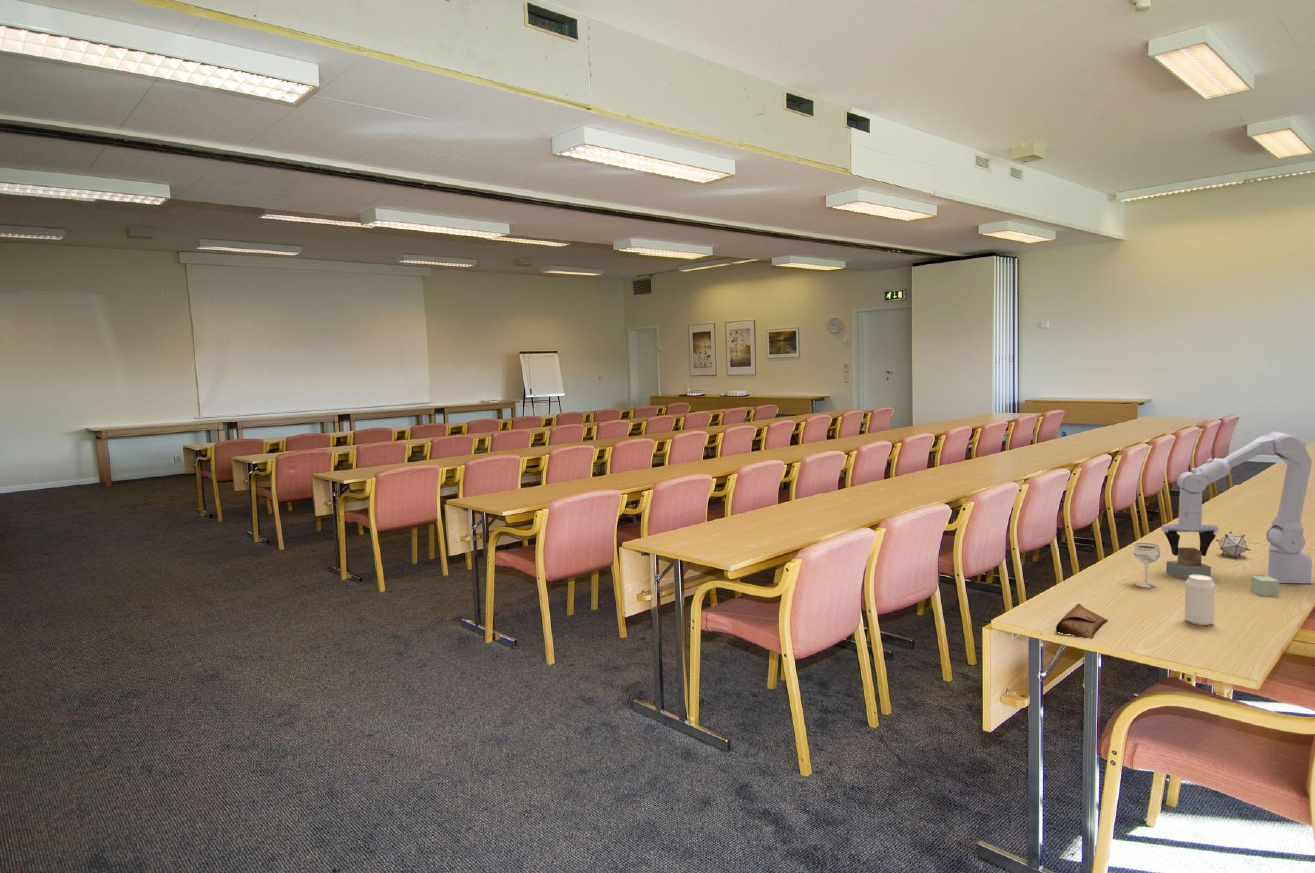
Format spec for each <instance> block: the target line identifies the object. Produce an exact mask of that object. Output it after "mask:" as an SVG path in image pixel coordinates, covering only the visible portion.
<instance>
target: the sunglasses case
mask: <svg viewBox="0 0 1315 873" xmlns="http://www.w3.org/2000/svg"><path fill="white" fill-rule="evenodd" d="M1108 621H1109V619H1107V618H1105V617H1104V616H1101V615H1100V614H1097V613H1096V612H1094V611H1091V610H1089V609H1087V608H1085V607H1084V606H1083V605H1082V604H1081V603H1078V604H1076V605H1075V606H1074V607H1072V609H1070V610H1069V611H1068V612H1067V613H1066V614H1065V615H1064V616H1063V617H1062V618H1061V619H1060V620H1059V621H1058V623H1057V625H1056V627H1055V631H1056V633H1057V632H1060V633H1063V634H1071V635H1074V636H1077V637H1076V638H1078V637H1083V638H1082V639H1084V638H1090V639H1092V638H1094V635H1095V634H1096V633H1097V632H1096V631H1098V630H1099V629H1100V628H1101V627H1103V625H1104V624H1106V623H1107V622H1108ZM1095 632H1096V633H1095ZM1090 639H1089V640H1090ZM1092 640H1093V639H1092Z"/></svg>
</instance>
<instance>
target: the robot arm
mask: <svg viewBox="0 0 1315 873" xmlns="http://www.w3.org/2000/svg"><path fill="white" fill-rule="evenodd" d="M1275 455H1276V456H1277V457H1279V458H1280V459H1281V460H1282V462H1284V463H1285V464H1286V471H1285V476H1284V480H1283V486H1282V492H1281V496H1280V502H1279V504H1278V505H1279V506H1278V511H1277V516H1276V517H1275V518H1273V520H1271V526H1270V527H1269V528H1268V529H1267V530H1266V534H1265V537H1266V540H1267V542H1268V543H1269V544H1270V545H1269V548H1268V564H1267V565H1268V566H1267V567H1268V568H1267V573H1261V574H1260V576H1270V577H1272V578H1274V579H1276V580H1278V581H1279V584H1313V581H1312V568H1313V566H1312V565H1313V564H1312V563H1313V561H1312V560H1313V559H1312V556H1311V555H1310V553H1309V552H1308V551H1306V550H1303V549H1304V548H1305V545H1306V539H1305V537H1304V526H1303V525H1302V522H1301V519H1302V515H1303V514H1302V513H1303V508H1304V505H1305V504H1304V503H1305V498H1306V494H1307V489H1308V484H1309V479H1310V474H1311V469H1312V462H1313V460H1312V459H1311V457H1310V455H1309V453H1308V450H1307V448H1306V443H1305V442H1304V441H1303V440H1301V439H1300V438H1299V437H1298V436H1296V435H1294V434H1290V433H1284V432H1281V431H1277V430H1275V431H1270V432H1268V433H1266V434H1265V435H1262V436H1259V437H1257V438H1256V439H1254V440H1253V441H1251V442H1249V443H1248V444H1245V445H1244V446H1243V447H1241V448H1239V449H1238V450H1236V451H1234V452H1232V453H1230V454H1229V455H1227V456H1225V457H1223V458H1220V457H1219V458H1218V457H1215V458H1209V459H1207V460H1206V462H1205V463H1204V464H1202V465H1200V466H1198V467H1197V468H1196V467H1193V468H1191V471H1185V472H1183V473H1181V474H1180V475H1179V477H1178V478H1177V480H1176V484H1177V486H1178V487H1179V496H1178V498H1179V499H1178V504H1179V505H1178V523H1174V524H1162V525H1161V531H1162V532H1163V533H1164V535H1165V537H1166V539H1167V540H1168V543H1169V546H1170V550H1171V554H1172V555H1173V556H1174V557H1175V556H1176V557H1178V548H1179V541H1180V537H1181V535H1179V533H1198V536H1199V550H1200V551H1201V552H1202V557H1206V555H1207V553H1208V551H1209V548H1210V545H1211V544H1212V542H1213V541H1214V540H1215V538H1216V537H1217V536H1216V535H1217V534H1218V533H1219V526H1218V525H1215V524H1202V519H1203V518H1202V515H1203V513H1202V511H1203V491H1205V490H1206V487H1207V486H1209V485H1210V484H1213V483H1214V482H1216V481H1218V480H1220V479H1222V478H1224V477H1226V476H1227V475H1229V474H1230V472H1231V469H1232V468H1234V467H1236V466H1239V465H1240V464H1243V463H1245V462H1247V461H1249V460H1251V459H1253V458H1255V457H1257V456H1275ZM1216 533H1217V534H1216Z"/></svg>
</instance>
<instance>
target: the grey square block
mask: <svg viewBox="0 0 1315 873" xmlns="http://www.w3.org/2000/svg"><path fill="white" fill-rule="evenodd" d="M1165 566H1166V571H1165V572H1167V574H1169V575H1171V574H1172V576H1173V577H1176V578H1179V577H1180V578H1179V579H1181V578H1182V580H1184V581H1187V579H1188V578H1189V575H1205V576H1209V577H1211V578H1212V576H1211V574H1212V567H1211V566H1209V565H1207V564H1204V563H1202V562H1201V566H1184V565H1182V564H1181V563H1179V562H1178V560H1166V565H1165Z"/></svg>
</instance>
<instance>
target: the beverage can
mask: <svg viewBox="0 0 1315 873" xmlns="http://www.w3.org/2000/svg"><path fill="white" fill-rule="evenodd" d="M1184 586H1185V587H1184V588H1185V590H1184V591H1185V592H1184V619H1185V620H1186V621H1188V623H1190V622H1191V623H1190V624H1193V625H1195V624H1196V625H1195V626H1202V625H1206V626H1210V625H1211V624H1214V622H1215V607H1216V606H1215V605H1216V583H1214V580H1213V578H1212V576H1211V577H1209V576H1205V575H1189V578H1188V579H1187V580H1185V585H1184Z"/></svg>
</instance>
